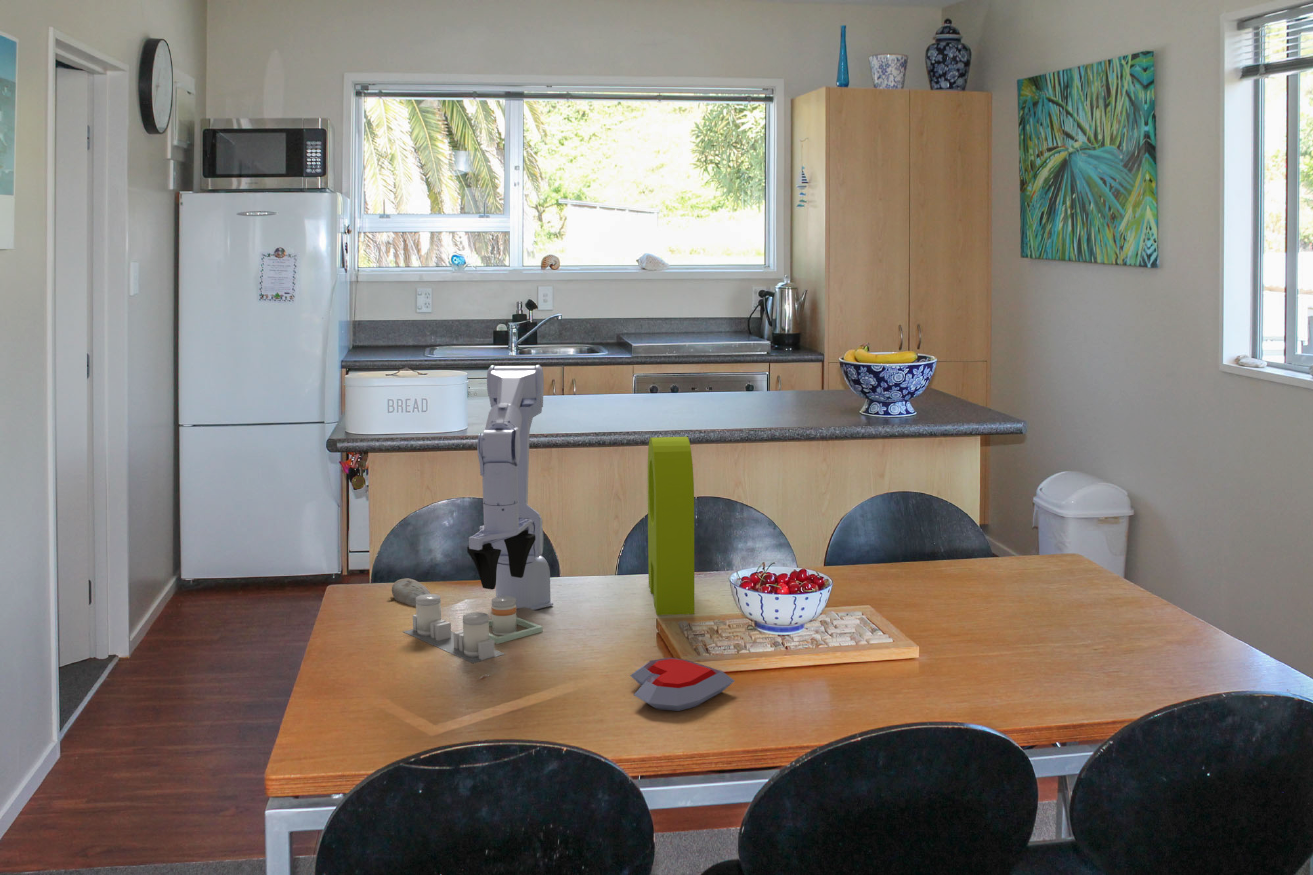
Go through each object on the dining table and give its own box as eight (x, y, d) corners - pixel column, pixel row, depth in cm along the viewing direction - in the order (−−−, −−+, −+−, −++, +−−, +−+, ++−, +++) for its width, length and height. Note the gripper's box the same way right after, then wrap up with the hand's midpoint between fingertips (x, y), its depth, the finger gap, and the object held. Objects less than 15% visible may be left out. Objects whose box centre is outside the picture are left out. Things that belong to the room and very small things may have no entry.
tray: (511, 624, 202) (510, 614, 201) (542, 636, 195) (542, 626, 195) (466, 636, 196) (466, 625, 195) (497, 649, 189) (497, 638, 189)
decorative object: (648, 583, 226) (647, 430, 221) (683, 582, 226) (682, 429, 222) (656, 615, 206) (655, 447, 202) (694, 614, 207) (693, 446, 202)
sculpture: (726, 672, 178) (628, 676, 177) (726, 649, 178) (627, 652, 177) (744, 715, 162) (635, 720, 160) (744, 689, 161) (635, 694, 160)
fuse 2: (480, 646, 187) (479, 610, 186) (494, 653, 184) (493, 616, 183) (459, 652, 184) (457, 616, 184) (473, 659, 182) (472, 621, 181)
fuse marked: (502, 629, 198) (500, 594, 197) (522, 632, 196) (521, 597, 195) (487, 635, 194) (486, 601, 193) (507, 639, 192) (506, 604, 192)
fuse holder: (434, 629, 199) (433, 609, 199) (505, 660, 184) (504, 638, 183) (403, 637, 195) (402, 617, 195) (473, 669, 180) (472, 647, 179)
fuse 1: (433, 627, 197) (432, 592, 196) (446, 632, 194) (445, 597, 194) (412, 632, 195) (411, 597, 194) (425, 637, 192) (423, 602, 191)
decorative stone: (411, 617, 207) (410, 598, 207) (382, 595, 220) (382, 578, 220) (444, 611, 210) (443, 593, 210) (414, 590, 223) (413, 573, 223)
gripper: (508, 491, 200) (510, 568, 202) (452, 508, 187) (455, 590, 190) (541, 495, 196) (543, 574, 199) (487, 512, 184) (490, 596, 186)
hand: (503, 582), depth 194 cm, fingers open, 7 cm apart
